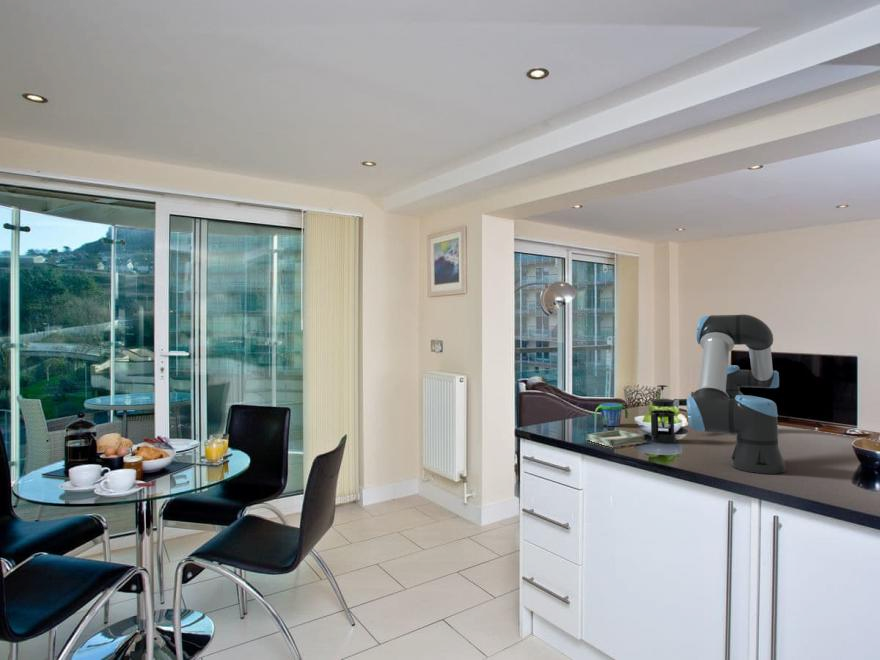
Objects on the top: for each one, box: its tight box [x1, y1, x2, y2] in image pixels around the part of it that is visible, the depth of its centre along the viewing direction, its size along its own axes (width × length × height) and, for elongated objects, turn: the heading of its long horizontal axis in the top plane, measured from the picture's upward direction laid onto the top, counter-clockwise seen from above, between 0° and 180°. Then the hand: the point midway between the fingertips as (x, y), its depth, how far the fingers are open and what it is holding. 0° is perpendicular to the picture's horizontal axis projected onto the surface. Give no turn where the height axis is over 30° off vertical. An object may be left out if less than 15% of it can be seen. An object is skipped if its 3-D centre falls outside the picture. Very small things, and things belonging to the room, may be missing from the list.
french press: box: [650, 384, 677, 444], centre depth 210 cm, size 12×9×23 cm
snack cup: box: [594, 402, 629, 427], centre depth 245 cm, size 16×10×10 cm
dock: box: [584, 429, 647, 449], centre depth 210 cm, size 16×18×3 cm
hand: (680, 406), depth 215 cm, fingers open, 13 cm apart
